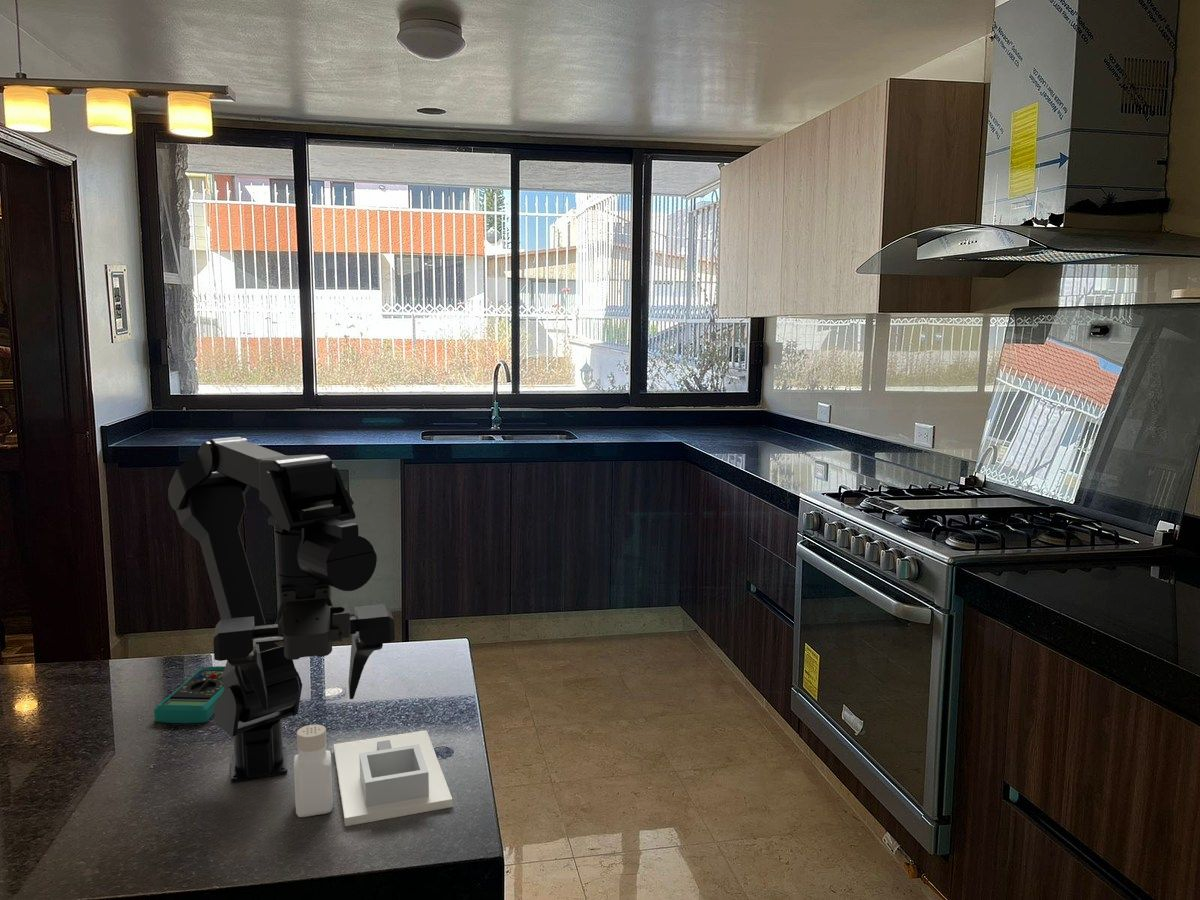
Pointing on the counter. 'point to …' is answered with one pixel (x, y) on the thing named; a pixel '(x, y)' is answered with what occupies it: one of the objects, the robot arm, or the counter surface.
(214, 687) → the digital multimeter
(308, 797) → the pepper shaker
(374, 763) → the outlet plate
